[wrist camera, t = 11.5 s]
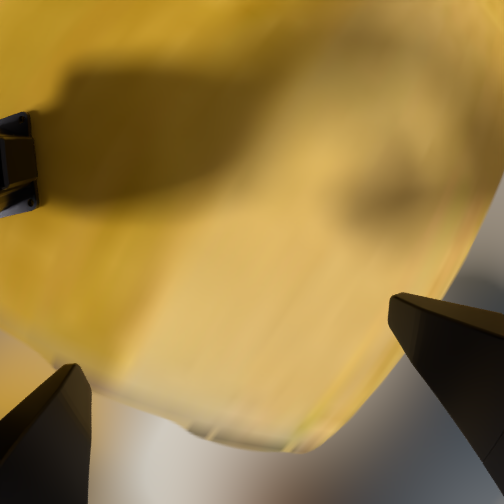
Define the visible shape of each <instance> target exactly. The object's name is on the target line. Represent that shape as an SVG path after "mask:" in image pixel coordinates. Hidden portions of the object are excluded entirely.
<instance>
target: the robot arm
mask: <svg viewBox="0 0 504 504" xmlns="http://www.w3.org/2000/svg"><path fill="white" fill-rule="evenodd" d="M23 116H24V118H25V119H24V122H23V123H21V118H22V117H23ZM37 176H38V174H37V166H36V157H35V147H34V139H33V138H32V137H31V122H30V115H29V114H28V113H27V112H20V113H17V114H14V115H11V116H8V117H6V118H3V119H0V218H2V217H6V216H10V215H15V214H19V213H23V212H28V211H32V210H34V209H36V208H37V207H38V205H39V197H38V190H37V183H36V178H37ZM31 199H32V200H33V202H34V205H33V206H32V205H31V204H30V200H31ZM388 324H389V327H390V329H391V330H392V332H393V334H394V335H395V337H396V338H397V340H398V342H399V343H400V345H401V347H402V348H403V350H404V352H405V353H406V355H407V357H408V358H409V360H410V361H411V363H412V364H413V366H414V367H415V369H416V370H417V371H418V372H419V374H420V375H421V377H422V378H423V379H424V380H425V382H426V383H427V385H428V386H429V387H430V389H431V390H432V391H433V393H434V394H435V395H436V397H437V398H438V400H439V401H440V402H441V404H442V405H443V406H444V408H445V409H446V410H447V412H448V413H449V415H450V416H451V418H452V419H453V420H454V422H455V423H456V425H457V426H458V427H459V429H460V430H461V432H462V433H463V435H464V436H465V438H466V439H467V440H468V442H469V443H470V445H471V446H472V448H473V449H474V451H475V452H476V454H477V455H478V457H479V458H480V460H481V461H482V462H483V464H484V466H485V468H486V469H487V471H488V472H489V474H490V475H491V477H492V478H493V480H494V481H495V483H496V485H497V486H498V488H499V490H500V491H501V493H502V494H503V496H504V315H503V314H502V313H498V312H493V311H488V310H484V309H479V308H474V307H469V306H464V305H460V304H455V303H451V302H446V301H441V300H437V299H432V298H427V297H423V296H418V295H413V294H409V293H404V292H402V293H398V294H395V295H393V296H391V298H390V301H389V312H388ZM91 402H92V392H91V387H90V385H89V383H88V381H87V379H86V377H85V375H84V373H83V371H82V369H81V367H80V366H79V365H78V364H76V363H73V364H65V365H63V366H62V367H61V368H60V369H59V370H57V371H56V372H55V373H54V374H53V375H52V376H50V377H49V378H48V379H47V380H46V381H45V382H43V383H42V384H41V385H40V386H39V387H38V388H36V389H35V390H34V391H33V392H32V393H31V394H30V395H28V396H27V397H26V398H25V399H24V400H23V401H22V402H20V403H19V404H18V405H17V406H16V407H15V408H14V409H13V410H11V411H10V412H9V413H8V414H7V415H6V416H5V417H4V418H2V419H1V420H0V504H88V480H89V479H88V478H89V464H90V450H91Z"/></svg>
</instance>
